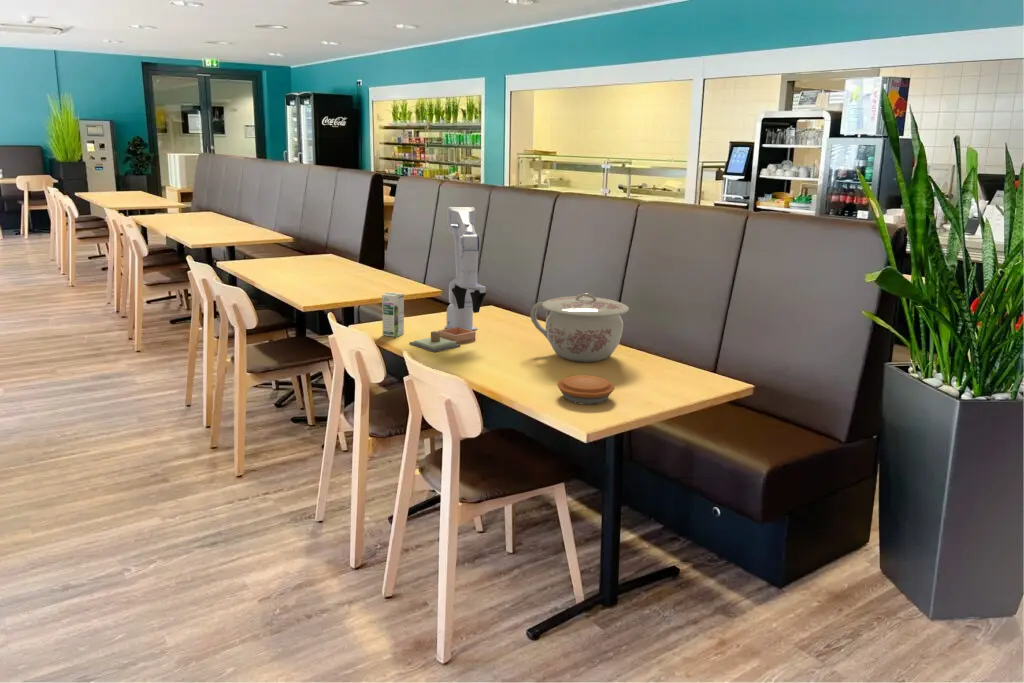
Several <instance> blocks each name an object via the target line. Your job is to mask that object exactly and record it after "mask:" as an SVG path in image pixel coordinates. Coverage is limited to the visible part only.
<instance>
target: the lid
mask: <svg viewBox="0 0 1024 683" xmlns="http://www.w3.org/2000/svg"><path fill="white" fill-rule="evenodd" d="M438 331H439V330H437V331H436V330H435V331H434V330H433V331H430V337H426V338H422V339H416V340H414V341H415V343H416V344H420V345H423V346H426V347H429V348H432V349H435V348H440V347H445V346H449V345H454V344H456V342H455V341H452V340H448V339H445V338H442V337H440V332H438Z"/></svg>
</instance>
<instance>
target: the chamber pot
mask: <svg viewBox="0 0 1024 683" xmlns="http://www.w3.org/2000/svg"><path fill="white" fill-rule="evenodd" d="M538 309H542V310H544V311H545V318H546V319H545V327H543V326H542V325H541V323H540V322H539V321H538V317H537V311H538ZM629 310H630V308H629V306H628V305H626V304H625V303H622V302H619V301H616V300H614V299H608V298H603V297H597V296H596V297H595V295H593V294H591V293H587V292H585V293H580V294H578V295H573V296H560V297H555V298H552V299H547V300H545V301H544V302H542V301H538V302H536V303H534V305H533V306H532V309H531V310H530V319H531V320H530V321H531V322H532V323H533V325H534V328H535V329H537V330H538V331H539V332H540V333H541V334H542V335H543V336H544V337H545V339H547V341H548V342H549V344H550V346H551V348H552V349H553V352H554V353H555V354H556V355H557V356H559V357H561V358H563V359H565V360H569V361H572V362H575V363H576V362H578V363H594V362H595V363H596V362H599V361H603V360H606V359H608V358H609V357H611V356H612V355H613V353H614V352H615V351H616V349H617V348H618V346H619V345H620V342H621V338H622V335H623V330H624V321H623V319H622V317H621V316H622V315H624V314H626V313H628V312H629Z"/></svg>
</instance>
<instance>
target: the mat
mask: <svg viewBox="0 0 1024 683" xmlns="http://www.w3.org/2000/svg"><path fill="white" fill-rule="evenodd" d="M415 341H416V340H414V341H409V342H408V344H409V345H411V346H414V347H417V348H419V349H423V350H427V351H430V352H433V353H438V352H441V351H442V352H443V351H447V350H451V349H455V348H459V347H461V344H454V345H449V346H445V347H440V348H435V349H432V348H429V347H426V346H423V345H420V344H416V343H415Z"/></svg>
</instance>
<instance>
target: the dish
mask: <svg viewBox="0 0 1024 683" xmlns="http://www.w3.org/2000/svg"><path fill="white" fill-rule="evenodd" d="M437 331H438V332H440V337H442V338H445V339H448V340H452V341H455V342H456V344H459V345H461V344H465V343H468V342H470V343H471V342H473V341H476V331H475V330H468V329H464V328H460V327H455V328H449V329H448V328H444V329H440V330H437Z"/></svg>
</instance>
